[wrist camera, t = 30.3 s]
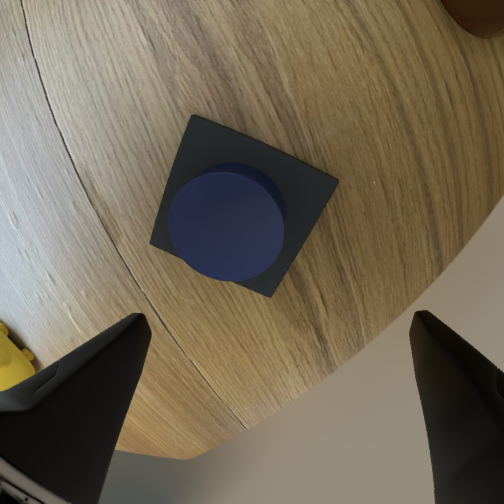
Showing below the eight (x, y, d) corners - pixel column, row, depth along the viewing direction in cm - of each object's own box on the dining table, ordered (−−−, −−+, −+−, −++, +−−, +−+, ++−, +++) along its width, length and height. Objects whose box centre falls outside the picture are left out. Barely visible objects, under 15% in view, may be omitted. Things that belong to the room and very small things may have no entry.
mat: (337, 179, 18) (339, 181, 17) (271, 294, 22) (270, 298, 22) (194, 114, 17) (190, 114, 16) (152, 240, 22) (148, 244, 21)
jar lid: (171, 235, 20) (156, 254, 18) (200, 145, 17) (185, 153, 15) (260, 273, 21) (256, 297, 19) (303, 188, 18) (305, 203, 15)
